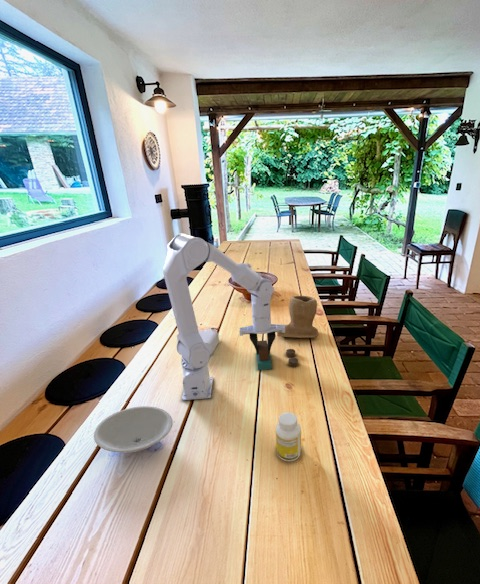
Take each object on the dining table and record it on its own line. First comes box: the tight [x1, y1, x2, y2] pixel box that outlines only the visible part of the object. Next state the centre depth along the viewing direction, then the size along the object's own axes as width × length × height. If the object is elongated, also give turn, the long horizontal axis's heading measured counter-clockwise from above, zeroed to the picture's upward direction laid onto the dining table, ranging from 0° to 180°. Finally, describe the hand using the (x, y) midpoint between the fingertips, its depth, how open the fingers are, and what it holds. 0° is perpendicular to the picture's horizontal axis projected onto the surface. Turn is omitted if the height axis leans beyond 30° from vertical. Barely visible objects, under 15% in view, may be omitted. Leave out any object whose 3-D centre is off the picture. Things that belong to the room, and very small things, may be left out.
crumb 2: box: [287, 357, 299, 368], centre depth 105 cm, size 3×3×2 cm
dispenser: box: [198, 328, 220, 356], centre depth 118 cm, size 5×9×15 cm
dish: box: [93, 405, 173, 454], centre depth 75 cm, size 18×14×5 cm
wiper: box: [255, 339, 272, 371], centre depth 106 cm, size 10×4×6 cm, turn 5°
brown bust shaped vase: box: [276, 295, 319, 339], centre depth 121 cm, size 15×12×15 cm
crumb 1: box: [285, 348, 296, 358], centre depth 110 cm, size 3×3×2 cm
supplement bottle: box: [275, 411, 302, 462], centre depth 70 cm, size 5×5×10 cm
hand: (263, 352), depth 106 cm, fingers closed on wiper, 3 cm apart
